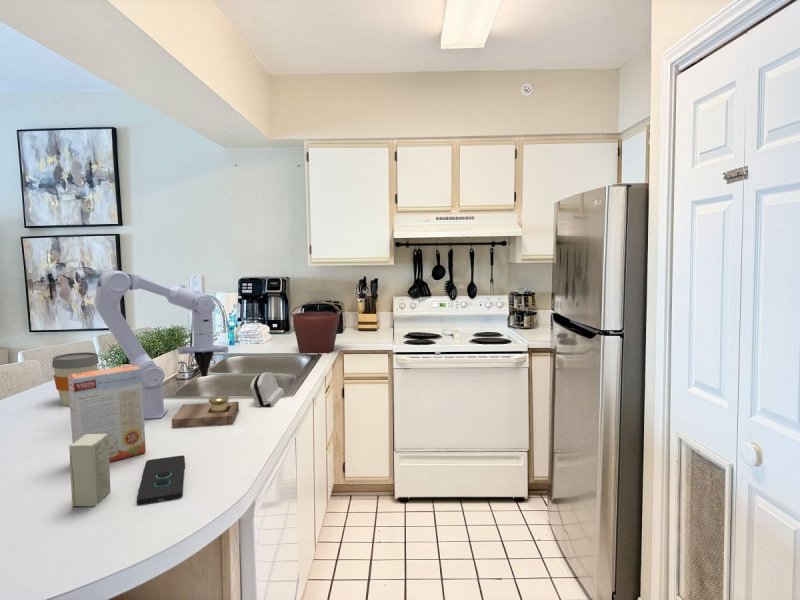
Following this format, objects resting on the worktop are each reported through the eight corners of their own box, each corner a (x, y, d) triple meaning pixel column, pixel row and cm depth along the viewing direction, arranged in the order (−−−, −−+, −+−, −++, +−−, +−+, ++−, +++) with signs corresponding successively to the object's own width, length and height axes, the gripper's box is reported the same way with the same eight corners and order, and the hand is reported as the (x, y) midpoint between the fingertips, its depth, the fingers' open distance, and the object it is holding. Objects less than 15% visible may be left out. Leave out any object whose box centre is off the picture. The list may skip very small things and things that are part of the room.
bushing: (207, 421, 143) (206, 401, 142) (211, 415, 148) (211, 395, 148) (227, 420, 144) (226, 400, 143) (230, 414, 149) (230, 395, 148)
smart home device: (135, 499, 94) (145, 459, 113) (135, 508, 95) (145, 467, 113) (182, 491, 98) (185, 454, 116) (183, 500, 98) (185, 461, 116)
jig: (171, 428, 137) (171, 419, 137) (183, 412, 151) (183, 404, 150) (232, 424, 140) (232, 415, 140) (238, 409, 154) (238, 401, 154)
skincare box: (88, 492, 100) (85, 433, 99) (112, 491, 100) (109, 432, 99) (71, 508, 94) (67, 445, 93) (95, 507, 94) (92, 444, 93)
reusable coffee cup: (108, 400, 163) (106, 354, 162) (66, 410, 153) (63, 361, 151) (88, 394, 170) (86, 350, 169) (46, 403, 159) (44, 357, 158)
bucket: (344, 348, 257) (344, 299, 255) (335, 356, 235) (334, 303, 233) (298, 347, 259) (297, 299, 257) (284, 355, 238) (283, 303, 235)
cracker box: (138, 446, 124) (134, 363, 122) (146, 453, 119) (142, 367, 118) (72, 463, 114) (67, 373, 112) (78, 471, 110) (73, 377, 108)
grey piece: (272, 407, 156) (261, 377, 155) (258, 412, 156) (247, 382, 155) (284, 392, 173) (274, 366, 172) (272, 397, 173) (261, 370, 172)
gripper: (175, 335, 151) (176, 379, 152) (225, 334, 154) (226, 377, 155) (180, 332, 158) (182, 374, 159) (228, 331, 161) (229, 372, 162)
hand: (204, 375), depth 158 cm, fingers closed
